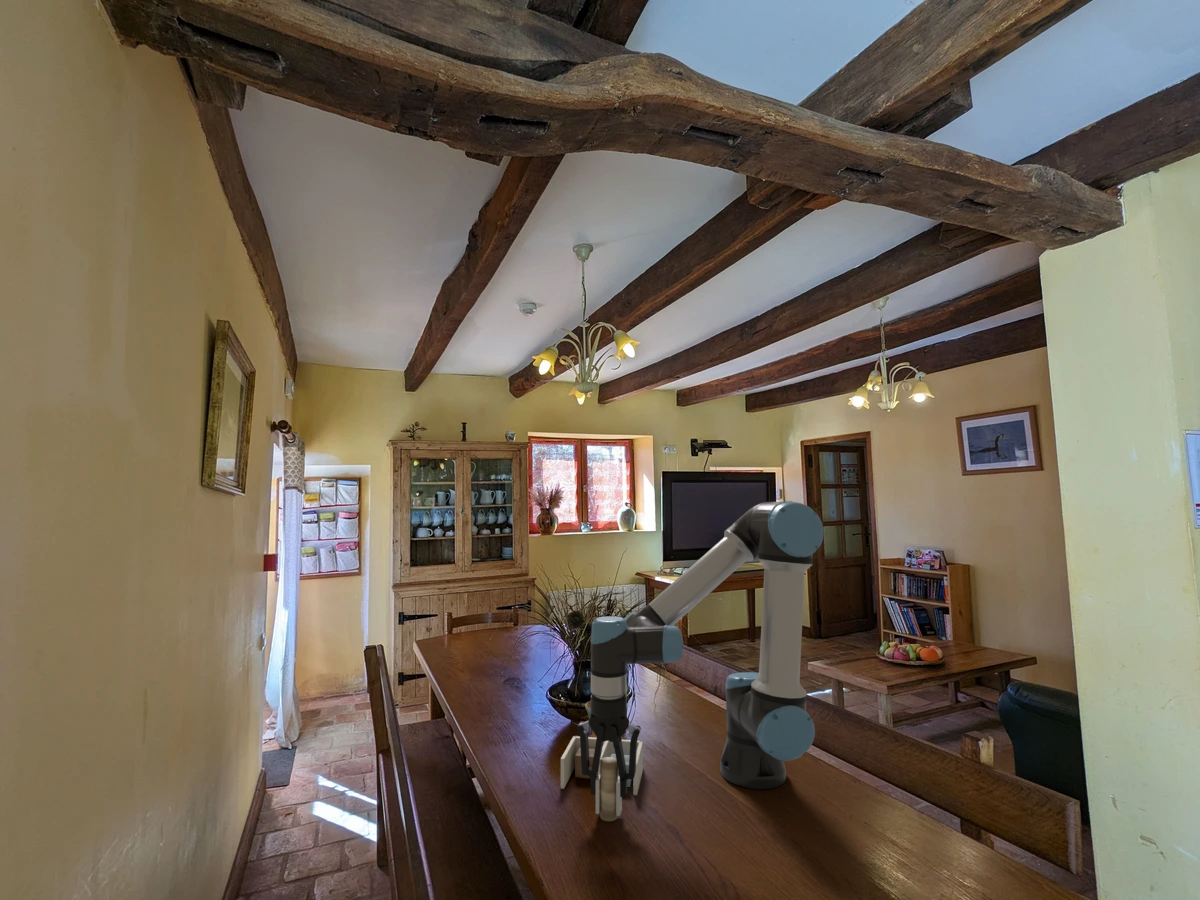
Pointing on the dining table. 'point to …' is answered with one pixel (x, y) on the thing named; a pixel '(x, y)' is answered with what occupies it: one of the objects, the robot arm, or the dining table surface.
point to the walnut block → (578, 762)
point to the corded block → (609, 786)
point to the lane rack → (607, 750)
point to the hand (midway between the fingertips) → (608, 811)
